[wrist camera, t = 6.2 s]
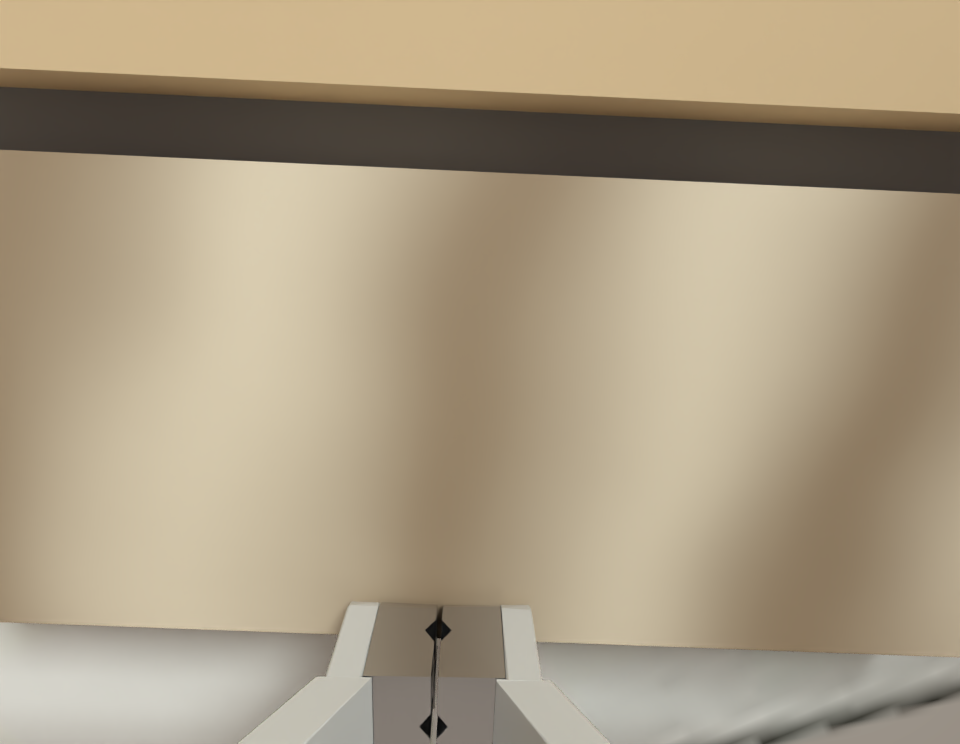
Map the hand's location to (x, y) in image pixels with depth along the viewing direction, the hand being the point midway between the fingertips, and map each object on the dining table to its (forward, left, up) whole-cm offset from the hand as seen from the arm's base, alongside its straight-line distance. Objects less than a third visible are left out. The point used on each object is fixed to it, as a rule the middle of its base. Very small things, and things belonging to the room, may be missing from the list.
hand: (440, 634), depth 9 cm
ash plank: (-1, -4, -2) cm, 4 cm away
